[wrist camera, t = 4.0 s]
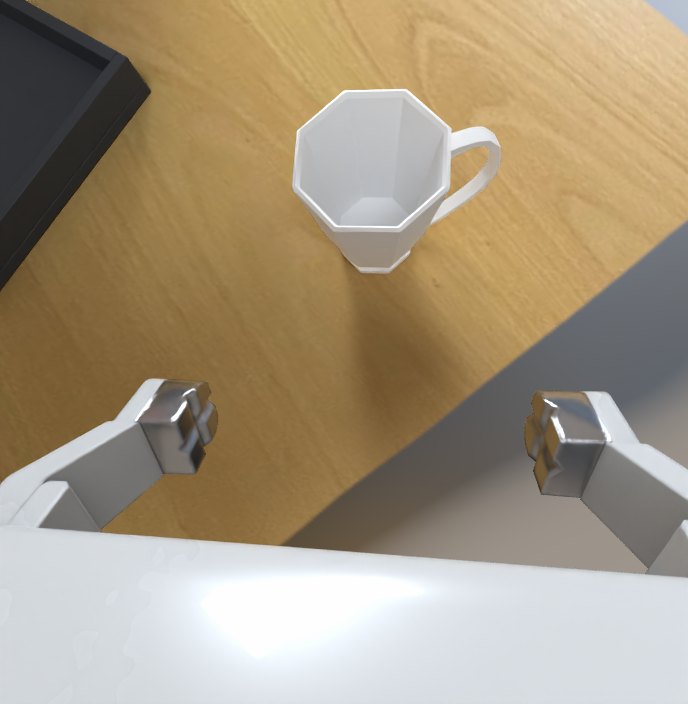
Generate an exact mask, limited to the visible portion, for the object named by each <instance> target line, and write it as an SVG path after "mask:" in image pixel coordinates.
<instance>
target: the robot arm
mask: <svg viewBox="0 0 688 704" xmlns="http://www.w3.org/2000/svg"><path fill="white" fill-rule="evenodd" d="M210 395H211V390H210V388H209V385H208V383H207V382H205V381H196V380H177V379H152V378H151V379H148V380H146V381H145V382H144V383H143V384H142V385H141V387H140V388H139V389H138V390H137V392H136V393H135V394H134V396H133V397H132V398H131V399H130V401H129V402H128V403H127V404H126V406H125V407H124V408H123V410H122V411H121V412H120V413H119V415H118V416H117V417H116V418H115V420H114V421H107V422H105V423H103V424H101V425H100V426H98V427H96V428H94V429H92V430H91V431H89V432H87V433H85V434H83V435H82V436H80V437H78V438H76V439H74V440H73V441H71V442H69V443H67V444H65V445H63V446H62V447H60V448H58V449H56V450H54V451H53V452H51V453H49V454H47V455H45V456H44V457H42V458H40V459H38V460H36V461H35V462H33V463H31V464H29V465H27V466H26V467H24V468H22V469H20V470H18V471H16V472H15V473H13V474H11V475H9V476H8V477H7V478H6V479H5V480H4V481H3V482H2V483H1V484H0V704H688V469H686V468H684V467H683V466H681V465H680V464H678V463H676V462H675V461H673V460H672V459H670V458H669V457H667V456H666V455H664V454H662V453H661V452H659V451H658V450H656V449H655V448H653V447H651V446H650V445H648V444H640V442H639V441H638V439H637V437H636V436H635V434H634V433H633V431H632V429H631V428H630V426H629V425H628V423H627V422H626V420H625V418H624V417H623V415H622V414H621V412H620V410H619V409H618V407H617V406H616V404H615V403H614V401H613V399H612V398H611V396H610V395H609V394H608V393H606V392H583V391H582V392H563V391H559V392H558V391H536V392H535V394H534V395H533V398H532V402H531V405H532V408H533V411H534V412H533V413H532V414H531V415H529V416H528V417H527V420H526V424H525V432H524V440H525V446H526V449H527V453H528V456H529V457H531V458H532V459H533V460H534V461H535V462H536V463H535V467H534V470H533V472H534V475H535V478H536V481H537V483H538V487H539V490H540V493H541V495H552V496H565V497H576V498H581V499H580V500H581V501H582V502H583V503H584V504H585V505H586V506H587V507H588V508H589V509H590V510H591V511H592V512H593V513H594V514H595V515H596V516H597V517H598V518H599V519H600V520H601V521H602V522H603V523H604V524H605V525H606V526H607V527H608V528H609V529H610V530H611V531H612V532H613V533H614V534H615V535H616V536H617V537H618V538H619V539H620V540H621V541H622V542H623V543H624V544H625V545H626V546H627V547H628V548H629V549H630V550H631V551H632V553H634V555H635V556H636V557H637V558H638V559H639V560H640V561H641V562H642V563H643V564H644V565H645V566H647V568H648V570H647V572H646V573H645V574H636V573H622V572H610V571H596V570H583V569H571V568H570V569H569V568H558V567H557V568H556V567H545V566H532V565H518V564H505V563H492V562H479V561H465V560H451V559H439V558H426V557H412V556H399V555H386V554H373V553H359V552H347V551H334V550H322V549H309V548H296V547H283V546H270V545H257V544H244V543H231V542H218V541H205V540H192V539H179V538H166V537H153V536H140V535H127V534H114V533H102V531H101V529H102V528H103V527H104V526H106V525H107V524H108V523H109V522H110V521H111V520H113V519H114V518H115V517H116V516H117V515H118V514H120V513H121V512H122V511H123V510H124V509H125V508H127V507H128V506H129V505H130V504H131V503H132V502H134V501H135V500H136V499H137V498H138V497H139V496H141V495H142V494H143V493H144V492H145V491H146V490H148V489H149V488H150V487H151V486H152V485H153V484H155V483H156V482H157V481H158V480H159V479H160V478H162V477H163V476H164V475H163V474H187V475H196V473H197V471H198V469H199V467H200V465H201V463H202V461H203V459H204V457H205V455H206V453H205V450H204V446H205V445H207V444H208V443H210V442H211V441H212V440H213V438H214V436H215V434H216V430H217V425H218V413H217V409H216V406H215V405H214V404H213V403H212V402H211V401H209V400H208V398H209V396H210Z"/></svg>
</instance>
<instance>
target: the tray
mask: <svg viewBox="0 0 688 704" xmlns="http://www.w3.org/2000/svg"><path fill="white" fill-rule="evenodd" d="M150 92H151V90H150V89H149V88H148V86H147V85H146V83H145V82H144V81H143V79H142V78H141V76H140V75H139V74H138V72H137V71H136V69H135V68H134V67H133V65H132V64H131V62H130V61H129V60H128V58H127V57H126V56H124V55H122V54H120V53H119V52H117V51H115V50H113V49H112V48H110V47H108V46H106V45H104V44H103V43H101V42H99V41H97V40H95V39H94V38H92V37H90V36H88V35H86V34H84V33H83V32H81V31H79V30H77V29H75V28H74V27H72V26H70V25H68V24H66V23H65V22H63V21H61V20H59V19H57V18H55V17H54V16H52V15H50V14H48V13H46V12H45V11H43V10H41V9H39V8H37V7H36V6H34V5H32V4H30V3H28V2H26V1H25V0H0V290H1V289H2V287H3V286H4V285H5V283H6V282H7V281H8V279H9V278H10V277H11V275H12V274H13V273H14V271H15V270H16V269H17V267H18V266H19V265H20V263H21V262H22V261H23V260H24V258H25V257H26V256H27V254H28V253H29V252H30V250H31V249H32V248H33V246H34V245H35V244H36V242H37V241H38V240H39V238H40V237H41V236H42V235H43V233H44V232H45V231H46V229H47V228H48V227H49V225H50V224H51V223H52V221H53V220H54V219H55V217H56V216H57V215H58V213H59V212H60V211H61V209H62V208H63V207H64V206H65V204H66V203H67V202H68V200H69V199H70V198H71V196H72V195H73V194H74V192H75V191H76V190H77V188H78V187H79V186H80V184H81V183H82V182H83V180H84V179H85V178H86V177H87V175H88V174H89V173H90V171H91V170H92V169H93V167H94V166H95V165H96V163H97V162H98V161H99V159H100V158H101V157H102V155H103V154H104V153H105V151H106V150H107V149H108V148H109V146H110V145H111V144H112V142H113V141H114V140H115V138H116V137H117V136H118V134H119V133H120V132H121V130H122V129H123V128H124V126H125V125H126V124H127V123H128V121H129V120H130V119H131V117H132V116H133V115H134V113H135V112H136V111H137V109H138V108H139V107H140V105H141V104H142V103H143V101H144V100H145V99H146V97H147V96H148V95H149V94H150Z"/></svg>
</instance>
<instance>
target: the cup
mask: <svg viewBox="0 0 688 704" xmlns="http://www.w3.org/2000/svg"><path fill="white" fill-rule="evenodd" d="M481 146H485V147H486V148H488V149H489V153H488V157H487V162H486V164H485V165H484V166H483V168H482V169H481V170H480V172H479V173H478V175H477V176H476V177H475V178H473V179H472V180H471V181H470V182H469V183H467V184H466V185H465V186H464V187H463V188H461V189H460V190H458V191H457V192H456V193H454V194H453V195H452V196H450V197H449V198H447V199H446V200H444V198H445V197H446V195H447V193H448V191H449V189H450V164H451V158H453V157H455V156H457V155H459V154H461V153H463V152H466V151H468V150H470V149H472V148H474V147H481ZM500 162H501V147H500V145H499V143H498V141H497V139H496V136H495V134H494V133H492V132H491V131H489V130H488V129H487V128H485V127H471V128H467V129H464V130H461V131H457V132H454V133H451V128H450V127H449V126H448V125H447V124H446V123H445V122H443V121H442V120H441V119H440V118H439V117H438V116H437V115H435V114H434V113H433V112H432V111H431V110H430V109H429V108H428V107H426V106H425V105H424V104H423V103H422V102H421V101H420V100H418V99H417V98H416V97H415V96H414V95H413V94H412V93H411V92H409V91H408V90H407V89H391V90H350V91H343V92H342V93H341V94H339V95H338V96H337V97H336V98H335V99H334V100H332V101H331V102H330V103H329V104H328V105H327V106H325V107H324V108H323V109H322V110H321V111H320V112H318V113H317V114H316V115H315V116H314V117H313V118H311V119H310V120H309V121H308V122H307V123H306V124H304V125H303V126H302V127H301V128H300V129H299V130H297V138H296V149H295V159H294V170H293V181H292V189H293V191H294V192H295V194H296V195H297V196H298V198H299V199H300V201H301V202H302V203H303V205H304V206H305V207H306V208H307V210H308V211H309V212H310V214H311V215H312V216H313V218H314V219H315V221H316V222H317V224H318V225H319V226H320V228H321V229H322V231H323V232H324V233H325V235H326V236H327V237H328V238H329V239H330V240H331V241H332V242H333V243H334V244H335V245H336V246H337V247H338V248H339V249H340V250H341V252H342V254H343V255H344V256H345V257H346V259H347V260H348V261H349V262H350V263H351V264H352V265H353V266H354V267H355V268H356V269H357V270H358V271H359V272H360V273H378V274H389V273H390V272H391V271H392V270H394V269H395V268H396V267H397V266H398V265H399V264H400V263H401V262H403V261H404V260H405V259H406V258H407V257H408V256H409V255H410V249H411V248H412V247H413V246H414V245H415V244H416V243H417V242H418V241H419V240H420V239H421V237H422V236H423V235H424V234H425V232H426V230H427V228H428V227H429V226H431V225H433V224H435V223H437V222H438V221H440V220H442V219H443V218H445V217H446V216H448V215H449V214H451V213H452V212H454V211H455V210H457V209H458V208H460V207H461V206H463V205H464V204H465V203H467V202H468V201H470V200H471V199H473V198H474V197H475V196H476V195H477V194H479V193H480V192H481V191H482V190H483V189H485V188H486V187H487V186H488V184H489V183H490V182H491V180H492V179H493V178H494V177H495V175H496V174H497V172H498V169H499V165H500ZM443 200H444V201H443Z"/></svg>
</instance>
